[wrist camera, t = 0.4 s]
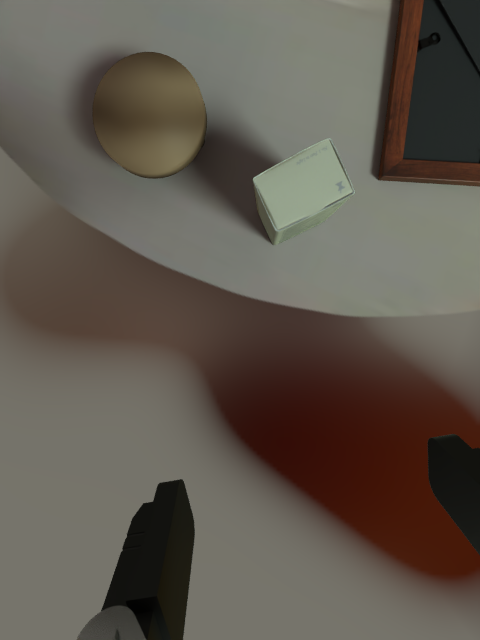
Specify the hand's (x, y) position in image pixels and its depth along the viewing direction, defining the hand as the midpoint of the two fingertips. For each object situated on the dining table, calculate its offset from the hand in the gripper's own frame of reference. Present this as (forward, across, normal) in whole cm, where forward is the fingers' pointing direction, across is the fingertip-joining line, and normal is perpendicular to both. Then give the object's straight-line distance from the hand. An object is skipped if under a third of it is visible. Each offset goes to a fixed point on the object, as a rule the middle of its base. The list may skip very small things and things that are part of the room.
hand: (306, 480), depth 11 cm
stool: (+30, +6, -18) cm, 36 cm away
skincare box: (+28, -6, -8) cm, 30 cm away
